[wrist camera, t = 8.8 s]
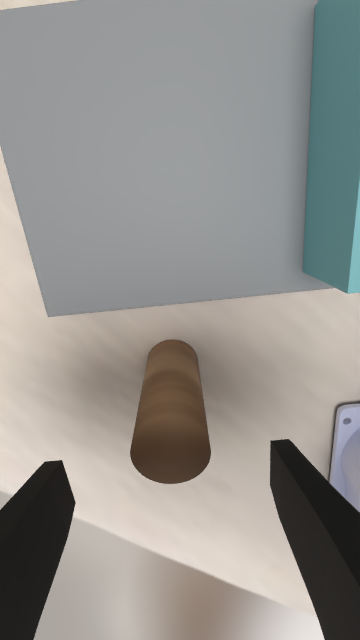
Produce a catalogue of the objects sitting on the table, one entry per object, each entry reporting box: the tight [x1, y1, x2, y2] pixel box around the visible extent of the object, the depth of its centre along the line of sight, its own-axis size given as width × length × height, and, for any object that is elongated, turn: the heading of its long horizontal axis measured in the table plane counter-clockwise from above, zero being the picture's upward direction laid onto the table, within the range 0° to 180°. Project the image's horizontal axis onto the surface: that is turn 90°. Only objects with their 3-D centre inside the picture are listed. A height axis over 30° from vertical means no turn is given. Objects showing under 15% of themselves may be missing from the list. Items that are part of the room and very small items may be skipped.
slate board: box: [0, 0, 335, 317], centre depth 13 cm, size 12×24×1 cm, turn 96°
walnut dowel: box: [130, 340, 211, 484], centre depth 14 cm, size 3×3×7 cm
